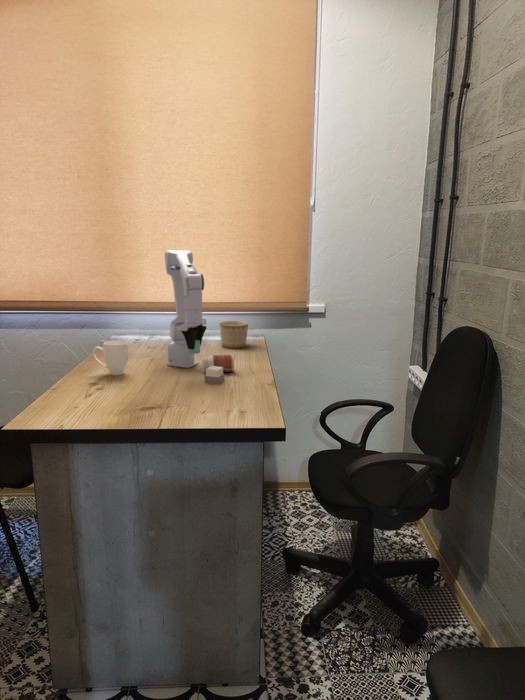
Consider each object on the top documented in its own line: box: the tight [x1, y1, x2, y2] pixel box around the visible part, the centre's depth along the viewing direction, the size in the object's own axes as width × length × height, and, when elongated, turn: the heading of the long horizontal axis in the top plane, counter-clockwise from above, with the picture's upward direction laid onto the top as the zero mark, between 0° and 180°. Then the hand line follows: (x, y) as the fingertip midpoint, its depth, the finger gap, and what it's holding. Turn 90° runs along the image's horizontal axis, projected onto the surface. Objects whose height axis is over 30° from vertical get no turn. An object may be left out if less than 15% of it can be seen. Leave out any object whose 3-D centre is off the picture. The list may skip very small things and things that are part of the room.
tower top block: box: [205, 366, 224, 377], centre depth 172 cm, size 4×4×2 cm
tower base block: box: [204, 373, 225, 385], centre depth 173 cm, size 5×5×2 cm
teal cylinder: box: [189, 340, 201, 354], centre depth 175 cm, size 4×4×4 cm
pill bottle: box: [202, 354, 235, 373], centre depth 184 cm, size 6×6×11 cm
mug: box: [92, 339, 129, 376], centre depth 177 cm, size 12×8×11 cm
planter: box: [219, 320, 249, 349], centre depth 225 cm, size 13×13×10 cm
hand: (194, 347), depth 175 cm, fingers closed on teal cylinder, 4 cm apart
